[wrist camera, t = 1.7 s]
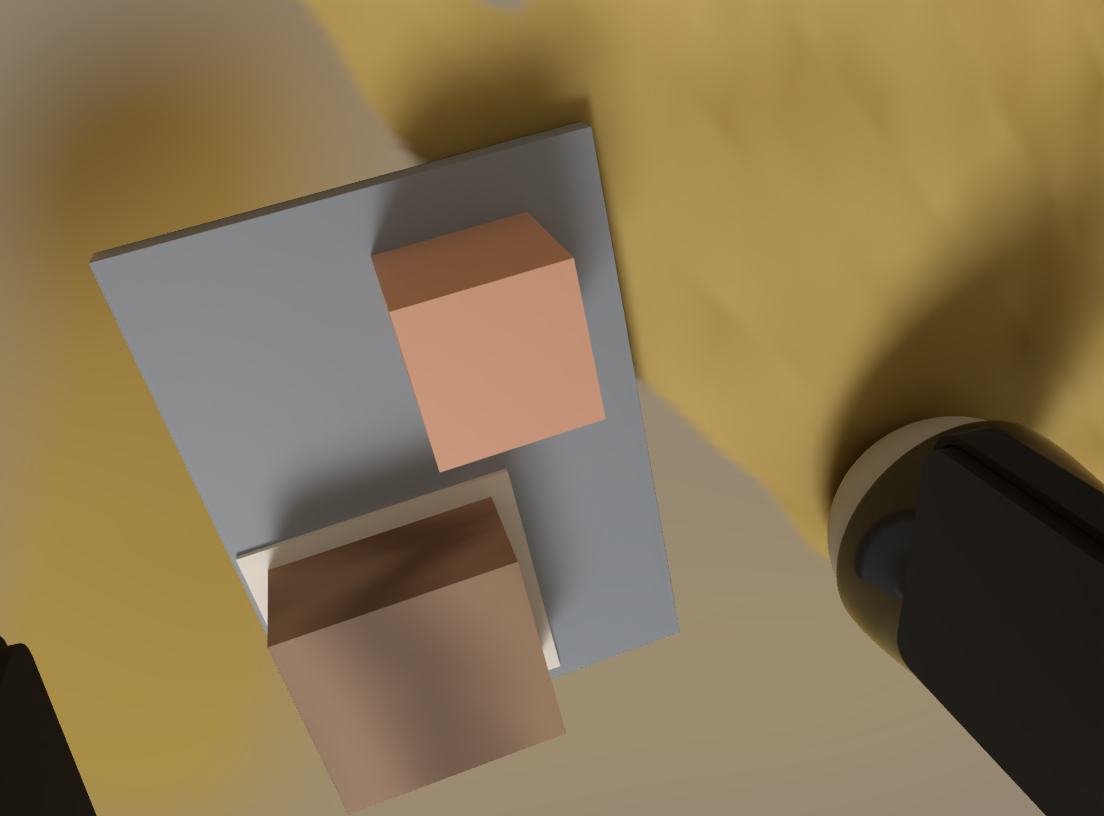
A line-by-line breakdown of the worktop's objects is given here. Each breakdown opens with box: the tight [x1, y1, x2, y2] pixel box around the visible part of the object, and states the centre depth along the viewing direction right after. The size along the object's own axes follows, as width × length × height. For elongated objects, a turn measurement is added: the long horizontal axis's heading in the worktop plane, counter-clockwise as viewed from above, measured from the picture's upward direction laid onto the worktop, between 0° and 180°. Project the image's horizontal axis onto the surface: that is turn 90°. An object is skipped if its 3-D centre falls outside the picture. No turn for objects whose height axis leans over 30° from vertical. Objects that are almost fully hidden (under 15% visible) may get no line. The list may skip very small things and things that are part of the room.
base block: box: [268, 497, 566, 814], centre depth 32 cm, size 8×8×4 cm
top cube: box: [371, 212, 606, 472], centre depth 27 cm, size 5×5×5 cm
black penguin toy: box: [828, 416, 1104, 677], centre depth 32 cm, size 10×10×15 cm
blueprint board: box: [89, 121, 680, 679], centre depth 32 cm, size 15×21×1 cm
